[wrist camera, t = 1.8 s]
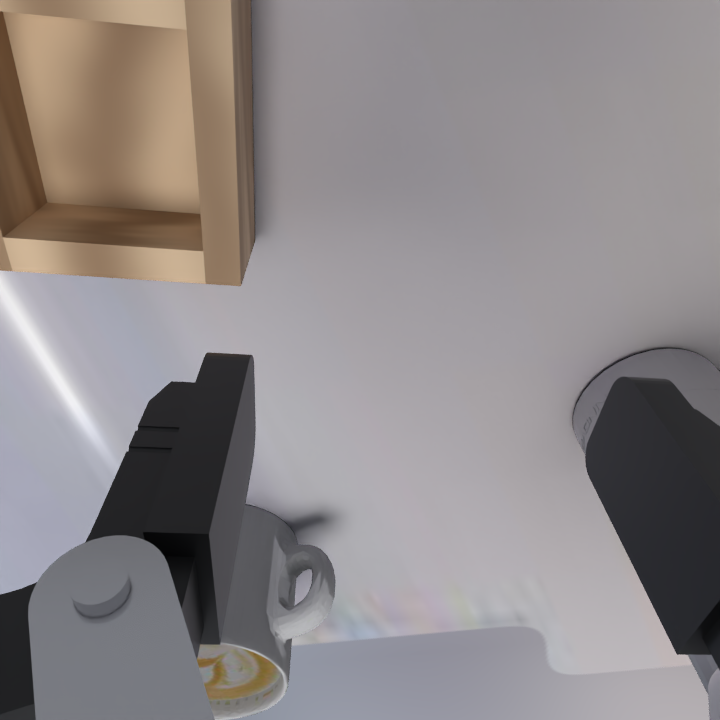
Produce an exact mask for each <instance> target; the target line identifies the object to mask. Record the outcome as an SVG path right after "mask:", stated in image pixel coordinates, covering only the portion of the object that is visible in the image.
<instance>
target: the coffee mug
mask: <svg viewBox="0 0 720 720" xmlns="http://www.w3.org/2000/svg"><path fill="white" fill-rule="evenodd" d="M307 569H312V573H313V576H312V584H311V587H310V590H309V592H308V594H307V596H306V597H305V598H304V599H303V600H302V601H301V602H299V603H298V604H297V605H295V606H294V602H295V588H296V578H297V577H298V576H299V575H300V574H301V573H302V572H303V571H305V570H307ZM334 595H335V575H334V569H333V566H332V563H331V562H330V560H329V558H328V556H327V555H326V554H325V553H324V552H323V551H322V550H321V549H319V548H317V547H315V546H312V545H298V543H297V539H296V537H295V535H294V533H293V531H292V530H291V528H290V527H289V526H288V525H287V524H286V523H285V522H284V521H282V520H281V519H280V518H278V517H277V516H275V515H274V514H272V513H270V512H268V511H266V510H263V509H260V508H257V507H254V506H250V505H245V508H244V514H243V520H242V525H241V531H240V537H239V542H238V548H237V553H236V559H235V565H234V570H233V576H232V582H231V587H230V593H229V598H228V604H227V610H226V615H225V621H224V627H223V632H222V638H221V644H220V645H203V644H200V648H199V653H198V657H197V662H198V666H199V669H200V672H201V676H202V679H203V682H204V686H205V689H206V692H207V696H208V699H209V702H210V706H211V709H212V712H213V716H214V719H215V720H227V719H236V718H241V717H246V716H250V715H254V714H257V713H259V712H262V711H265V710H267V709H268V708H270V707H272V706H273V705H275V704H276V703H277V702H279V700H280V699H281V698H282V697H283V696H284V695H285V693H286V691H287V688H288V682H289V671H290V657H291V644H292V638H294V637H297V636H299V635H302V634H305V633H307V632H309V631H311V630H313V629H314V628H316V627H317V626H319V625H320V624H321V623H322V622H323V621H324V620H325V618H326V617H327V615H328V614H329V612H330V610H331V606H332V603H333V600H334Z"/></svg>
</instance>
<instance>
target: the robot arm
mask: <svg viewBox="0 0 720 720" xmlns="http://www.w3.org/2000/svg"><path fill="white" fill-rule="evenodd" d="M573 429H574V432H575V435H576V438H577V440H578V442H579V444H580V446H581V447H582V449H583V451H584V453H585V455H586V456H585V458H586V468H587V472H588V475H589V477H590V480H591V482H592V484H593V486H594V488H595V490H596V492H597V494H598V496H599V498H600V500H601V502H602V504H603V506H604V508H605V510H606V512H607V514H608V516H609V518H610V520H611V522H612V524H613V526H614V528H615V530H616V532H617V534H618V536H619V538H620V540H621V542H622V544H623V546H624V548H625V550H626V552H627V554H628V556H629V558H630V560H631V562H632V564H633V566H634V568H635V571H636V573H637V575H638V577H639V579H640V581H641V583H642V585H643V587H644V589H645V591H646V593H647V595H648V597H649V599H650V601H651V603H652V605H653V607H654V609H655V611H656V613H657V615H658V617H659V619H660V621H661V623H662V625H663V627H664V629H665V631H666V633H667V635H668V637H669V639H670V641H671V643H672V645H673V647H674V649H675V651H676V653H677V654H685V655H688V656H689V658H690V660H691V662H692V664H693V666H694V668H695V670H696V671H697V674H698V676H699V678H700V679H701V682H702V684H703V686H704V688H705V689H706V691H707V693H708V699H709V716H710V720H720V371H719V370H718V369H717V368H716V367H715V366H714V365H713V364H712V363H711V362H710V361H709V360H708V359H706V358H704V357H703V356H701V355H699V354H697V353H694V352H690V351H687V350H682V349H659V350H651V351H647V352H644V353H640V354H636V355H633V356H631V357H629V358H627V359H624V360H622V361H620V362H618V363H616V364H615V365H613V366H611V367H610V368H608V369H607V370H605V371H604V372H603V373H601V374H600V375H599V376H598V377H597V378H596V379H594V380H593V381H592V382H591V383H590V385H589V386H588V387H587V388H586V390H585V391H584V392H583V393H582V395H581V397H580V399H579V401H578V403H577V404H576V408H575V411H574V415H573ZM254 447H255V384H254V360H253V356H252V355H242V354H224V353H206V355H205V357H204V360H203V362H202V365H201V368H200V371H199V374H198V377H197V380H196V382H195V383H191V382H172V381H171V382H170V383H169V384H168V385H167V386H166V387H165V388H164V389H162V390H161V391H160V392H159V393H158V394H157V395H156V396H154V397H153V398H152V399H151V400H150V401H149V402H148V405H147V407H146V409H145V411H144V414H143V416H142V418H141V420H140V423H139V425H138V431H136V432H135V434H134V436H133V438H132V441H131V443H130V445H129V451H128V452H126V454H125V456H124V459H123V461H122V463H121V465H120V468H119V470H118V472H117V474H116V477H115V479H114V481H113V483H112V486H111V488H110V490H109V492H108V495H107V497H106V499H105V501H104V504H103V506H102V508H101V510H100V513H99V515H98V517H97V519H96V522H95V524H94V526H93V528H92V531H91V533H90V535H89V536H88V538H87V540H86V542H85V543H83V544H81V545H79V546H77V547H75V548H73V549H71V550H70V551H68V552H67V553H65V554H64V555H62V556H61V557H59V558H58V559H57V560H56V561H55V562H54V563H53V564H51V565H50V567H49V568H48V569H47V570H46V571H45V572H44V573H43V574H42V576H41V577H40V579H39V581H38V582H36V583H34V584H32V585H29V586H27V587H25V588H22V589H19V590H16V591H12V592H9V593H5V594H1V595H0V720H215V719H214V716H213V712H212V709H211V706H210V702H209V699H208V696H207V692H206V689H205V686H204V682H203V679H202V676H201V672H200V669H199V666H198V662H197V657H198V653H199V648H200V644H203V645H220V644H221V638H222V632H223V627H224V621H225V615H226V610H227V604H228V598H229V593H230V587H231V582H232V576H233V570H234V565H235V559H236V553H237V548H238V542H239V537H240V531H241V525H242V520H243V514H244V508H245V503H246V497H247V492H248V486H249V480H250V475H251V469H252V463H253V457H254Z"/></svg>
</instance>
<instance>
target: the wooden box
mask: <svg viewBox="0 0 720 720" xmlns="http://www.w3.org/2000/svg"><path fill="white" fill-rule="evenodd" d="M254 243H255V207H254V151H253V96H252V41H251V0H0V270H2V271H18V272H33V273H48V274H64V275H79V276H94V277H110V278H125V279H140V280H155V281H171V282H186V283H201V284H217V285H232V286H241V284H242V281H243V278H244V274H245V271H246V268H247V265H248V262H249V259H250V255H251V252H252V249H253V246H254Z"/></svg>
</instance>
